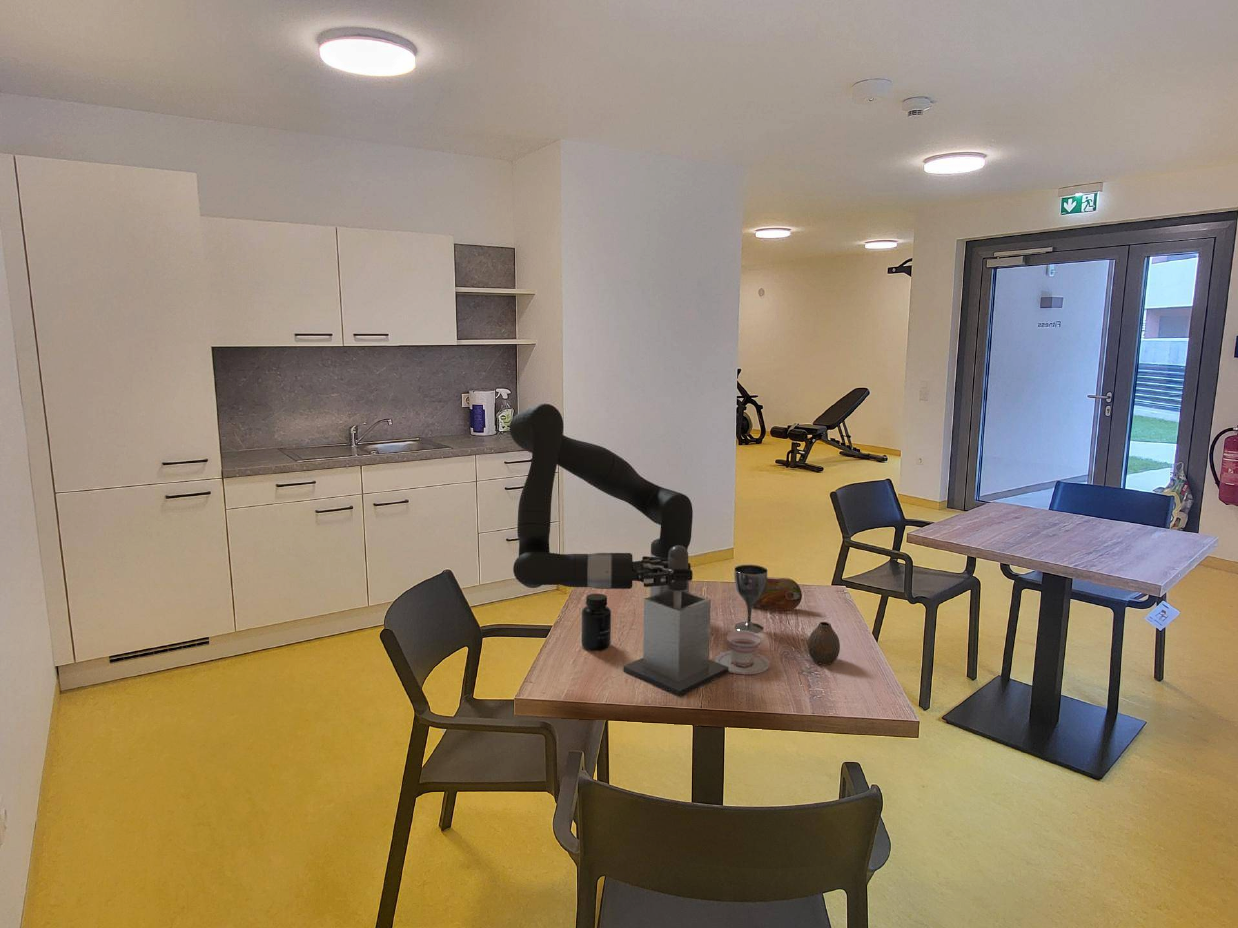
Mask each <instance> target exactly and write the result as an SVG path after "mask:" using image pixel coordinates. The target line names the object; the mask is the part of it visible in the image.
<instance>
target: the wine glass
mask: <svg viewBox="0 0 1238 928" xmlns="http://www.w3.org/2000/svg"><path fill="white" fill-rule="evenodd" d="M767 577H768V569H767V567H764V566H761V565H757V564H740V565H737V566H735V567H734V584H735V590H736V592H737V594H738V595H739V596H740V597H741V598H742V600H743V601H744V603H745V605H746V609H747V611H746V612H747V621H742V622H741V621H740V622H737V623H735V624H734V626H733V628H734V629H735V631H739V630H745V631H751V632H754V633H757V634H758V633H761V632H762V631H764V627H763V625H762V624H759V623H756V622H752V621H751V620H752V610H753V607H752V606H753V604H754V603H755V601H756V600H757V599H758V598H759V597H760V596H761V595H762V594H763V593H764V590H765V587H766V583H767Z"/></svg>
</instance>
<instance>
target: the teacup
mask: <svg viewBox="0 0 1238 928" xmlns="http://www.w3.org/2000/svg"><path fill="white" fill-rule="evenodd" d="M725 640H726V642H727V644H728V647H729V649H730V650H728V651H723V652H721V653H719V654H717V656H715V659H714V662H717V663H719V664H722V665H725V666H727V667H729V672H728V673H732V674H737V675H745V676H746V675H750V676H751V675H757V674H762V673H764V672H766V671H767V670H769V668H770V667H771V666H770V661H769V660H768V658H767V657H766V656H764V655H762V654H761V653H758V652H757V650H758V648H759V646H760V645H761V644H762V641H763V640H762V637H761V635H760V634H758V633H754V632H751V631H745V630H739V631H738V630H733V631H730V632H729V633H728V634H726V636H725ZM756 652H757V653H756ZM732 662H734V664H735V665H734V664H733V663H732ZM751 664H752V666H751ZM736 665H737V666H736Z"/></svg>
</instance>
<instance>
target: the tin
mask: <svg viewBox="0 0 1238 928" xmlns="http://www.w3.org/2000/svg"><path fill="white" fill-rule="evenodd" d="M802 593H803V592H802V590H801V587H800V584H798V583H797V582H796V580H793V579H791V578H789V577H773V576H771V577H769V576H767V583H766V587H765V590H764V593H763V594H762V595H761V596H760V597H759V598H758V599H757V600H756V601H755V603H754V604H753V606H752V608H755V609H759V610H773V611H775V610H776V611H783V612H784V611H792V610H794V609H796V608H797V607H798V606H799V605H800V604H801V601H802V600H803V599H802V597H803V594H802Z"/></svg>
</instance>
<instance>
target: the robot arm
mask: <svg viewBox="0 0 1238 928" xmlns="http://www.w3.org/2000/svg"><path fill="white" fill-rule="evenodd" d="M509 432H510V436H511V438H512V440H513V441H514V443H515V444H516V445H517V446H518V447H520V448H521V449H523V451H527V452H528V453H531V463H530V467H529V471H528V473H527V475H526V479H525V482H524V485H523V488H522V490H521V492H520V493H521V494H520V498H519V502H518V510H517V528H516V531H517V539H518V545H519V546H518V557H517V558H516V559H515V561H514V562H513V567H512V572H513V575H514V578H516V580H517V582H518V583H520V584H522V585H523V586H525V587H526V588H529V589H536V588H540V587H541V586H563V587H567V588H591V589H600V590H602V589H603V590H609V589H610V590H611V589H612V590H631V589H632V588H633V582H634V581H635V582H640V583H643V587H644V588H649V587H650V589H649V590H650V592H649V597H651V596H654V595H656V594H659V593H662V592H665V591H668V590H671V589H669V588H668V585H671V582H674V581H688V588H687V589H686V590H683V591H686V592H689V593H690V581H692V580H693V577H694V576H693V570H692V569H691V565H692V564H691V563H690V562H688V569H668V553H669V551H670V549H671V548H672V547H673V546H676V545H680V546H683V547H685V548H686V550H687V551H688V548H689V547H690V544H691V539H692V529H693V518H694V515H693V514H694V510H693V504H692V501H691V499H690V498H689V496H687V495H686V494H684V493H682V492H678V491H675V490H672V489H668V488H665V487H662V486H660V485H657V484H655V483H654V482H651V481H649V480H647V479H645V478H644V477H643V476H641V475H640V474H639V473H638V472H637V471H636V469H634V467H633V466H632V465H631V464H630V463H629V462H628V461H627V460H625V459H624V458H622V457H621V456H619V455H617V454H616V453H615V452H613V451H611V450H609V449H607V448H605V447H603V446H601V445H597V444H594V443H590V442H586V441H582V440H578V439H574V438H571V437H568V436H566V435H564V434H563V433H564V420H563V417H562V414H561V413H560V411H559V409H558V408H556V406H554V405H552V404H549V403H540V404H537V405H534V406H532V407H529V408H527V409H525V410H523V411H520V412H519V413H517V414H516V415H514V416H513V418H511V421H510V422H509ZM557 466H558V467H560V468H562V469H564V470H565V471H567V472H569V473H570V474H572V475H573V476H575V477H578V478H579V479H581V480H583V481H584V482H586V483H587V484H588V485H590V486H592V487H594V488H596V489H597V490H599V491H601V492H602V493H604V494H607V495H609V496H611V497H613V498H614V499H617V500H620V501H623V502H625V503H627V504H629V505H630V506H631V507H634V509H636V510H637V511H638V512H640V513H641V514H643V515H644V516H645V517H646V518H647V519H649V520H650V521H651V522H653V523H655V524H656V525H659V526H660V532H659V538H656V539H654V540H652V542H651V544H650V556H646V555H644V556H642V559H641V560H636V561H634V560H633V559H634V558H633V553H630V552H594V553H566V554H565V553H564V554H562V553H555V552H550V534H551V521H552V520H551V518H552V517H551V516H552V500H553V499H552V498H553V497H552V496H553V488H554V482H555V477H556V471H557Z"/></svg>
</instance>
